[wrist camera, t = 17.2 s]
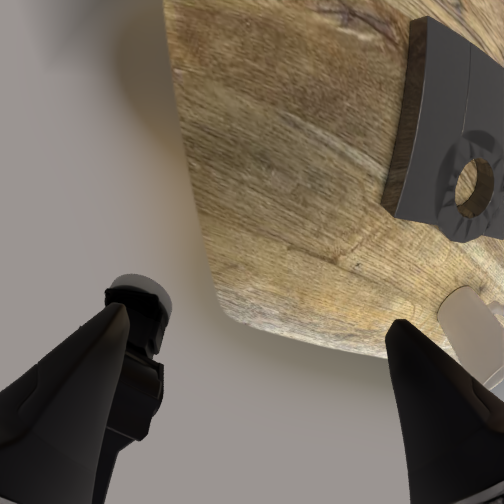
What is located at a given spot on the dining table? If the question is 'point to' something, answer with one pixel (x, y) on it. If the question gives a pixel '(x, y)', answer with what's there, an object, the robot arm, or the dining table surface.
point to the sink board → (449, 136)
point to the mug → (475, 334)
